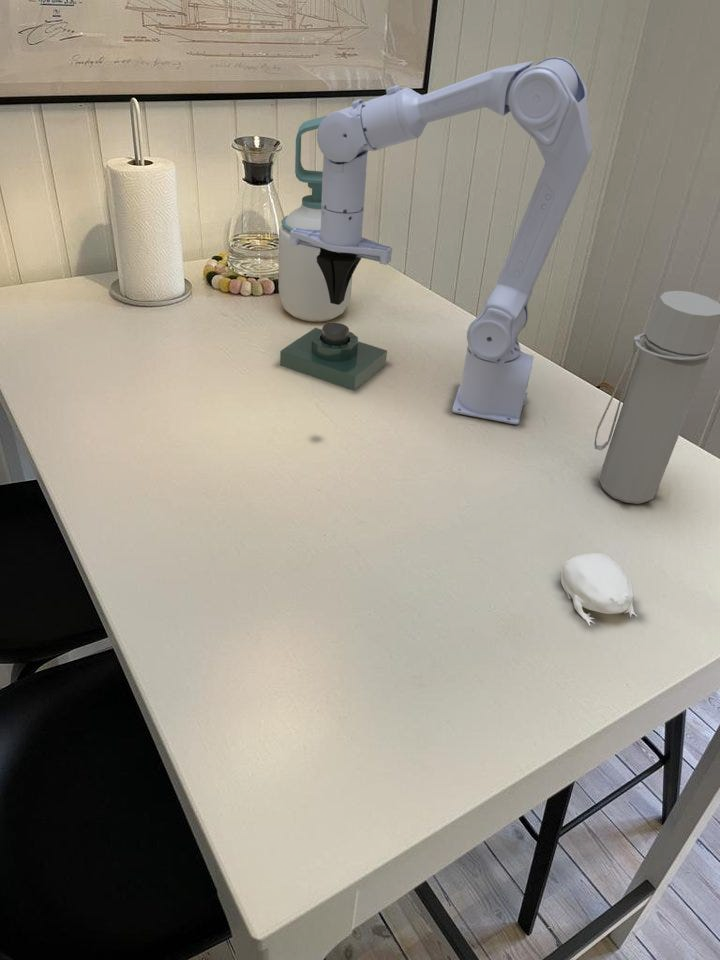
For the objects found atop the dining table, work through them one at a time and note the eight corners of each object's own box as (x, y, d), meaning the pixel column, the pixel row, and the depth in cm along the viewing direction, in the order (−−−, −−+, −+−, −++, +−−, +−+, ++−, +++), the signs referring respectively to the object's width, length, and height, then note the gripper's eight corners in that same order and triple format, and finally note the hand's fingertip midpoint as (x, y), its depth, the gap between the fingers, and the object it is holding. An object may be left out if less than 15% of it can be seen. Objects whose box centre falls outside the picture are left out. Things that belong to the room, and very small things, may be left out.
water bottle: (656, 479, 97) (726, 296, 82) (655, 514, 91) (730, 324, 76) (584, 462, 99) (640, 280, 84) (578, 495, 93) (637, 306, 78)
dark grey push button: (352, 339, 114) (353, 327, 113) (339, 349, 111) (340, 337, 110) (330, 332, 115) (331, 320, 114) (316, 342, 112) (317, 329, 111)
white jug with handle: (348, 329, 126) (362, 128, 107) (274, 324, 125) (275, 121, 107) (350, 299, 136) (363, 110, 117) (281, 294, 135) (283, 104, 117)
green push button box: (385, 364, 117) (388, 338, 114) (354, 391, 110) (356, 363, 107) (314, 341, 121) (315, 315, 119) (279, 365, 114) (280, 338, 112)
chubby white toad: (644, 619, 77) (655, 592, 75) (586, 630, 75) (596, 603, 73) (603, 566, 83) (612, 540, 81) (548, 575, 81) (556, 549, 79)
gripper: (402, 208, 102) (393, 302, 111) (305, 189, 106) (303, 282, 114) (385, 223, 97) (376, 320, 105) (283, 202, 101) (282, 298, 109)
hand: (337, 301), depth 109 cm, fingers closed
